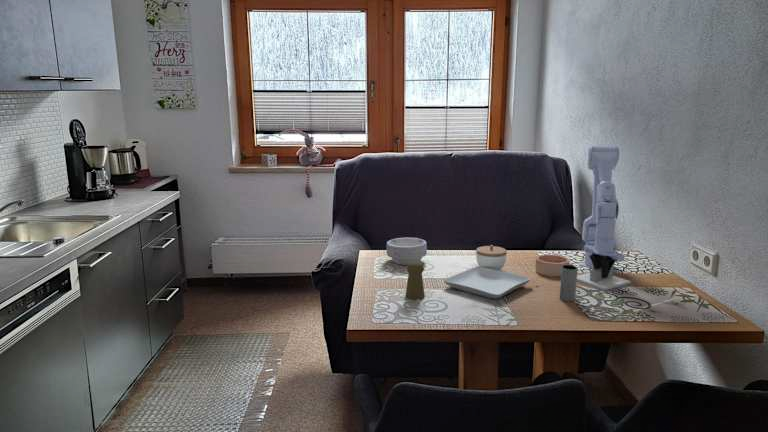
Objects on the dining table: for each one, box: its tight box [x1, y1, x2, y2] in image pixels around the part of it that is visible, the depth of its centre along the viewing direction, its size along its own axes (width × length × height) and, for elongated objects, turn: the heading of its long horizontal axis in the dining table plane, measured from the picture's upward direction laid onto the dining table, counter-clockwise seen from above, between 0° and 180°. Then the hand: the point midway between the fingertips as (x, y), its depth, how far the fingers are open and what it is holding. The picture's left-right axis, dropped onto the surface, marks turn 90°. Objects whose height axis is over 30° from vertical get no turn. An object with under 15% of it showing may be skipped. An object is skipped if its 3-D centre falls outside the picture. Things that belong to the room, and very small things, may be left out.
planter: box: [559, 264, 578, 302], centre depth 166 cm, size 4×4×10 cm
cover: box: [577, 266, 632, 290], centre depth 181 cm, size 13×13×4 cm
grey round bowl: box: [386, 237, 428, 266], centre depth 205 cm, size 15×15×8 cm
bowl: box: [535, 253, 570, 277], centre depth 192 cm, size 11×11×5 cm
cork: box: [404, 261, 425, 301], centre depth 168 cm, size 6×6×11 cm
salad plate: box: [443, 265, 532, 299], centre depth 177 cm, size 21×21×3 cm
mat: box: [576, 281, 637, 293], centre depth 182 cm, size 16×16×1 cm
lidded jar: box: [475, 244, 507, 271], centre depth 194 cm, size 11×11×9 cm
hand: (601, 276), depth 182 cm, fingers closed on cover, 2 cm apart
